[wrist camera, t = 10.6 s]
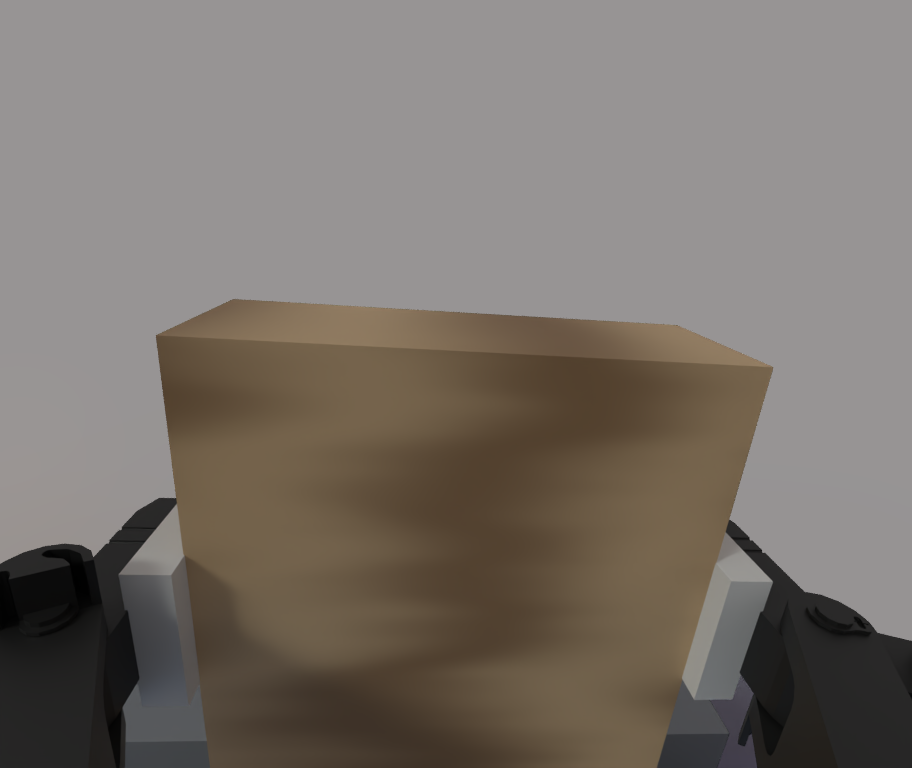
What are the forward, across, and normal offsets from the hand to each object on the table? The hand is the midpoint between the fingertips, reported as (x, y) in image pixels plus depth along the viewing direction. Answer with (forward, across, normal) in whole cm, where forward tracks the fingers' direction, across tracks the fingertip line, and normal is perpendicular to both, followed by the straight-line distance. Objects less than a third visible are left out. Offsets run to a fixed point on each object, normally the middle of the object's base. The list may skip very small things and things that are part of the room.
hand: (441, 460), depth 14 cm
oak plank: (-5, 0, -7) cm, 8 cm away
